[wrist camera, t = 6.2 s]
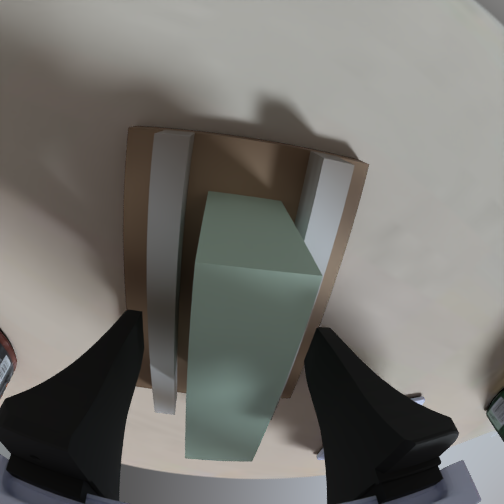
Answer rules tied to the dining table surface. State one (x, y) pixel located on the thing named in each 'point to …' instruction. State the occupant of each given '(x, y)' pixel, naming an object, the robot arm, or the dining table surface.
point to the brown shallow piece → (190, 221)
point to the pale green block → (243, 322)
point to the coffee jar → (497, 414)
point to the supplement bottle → (6, 363)
